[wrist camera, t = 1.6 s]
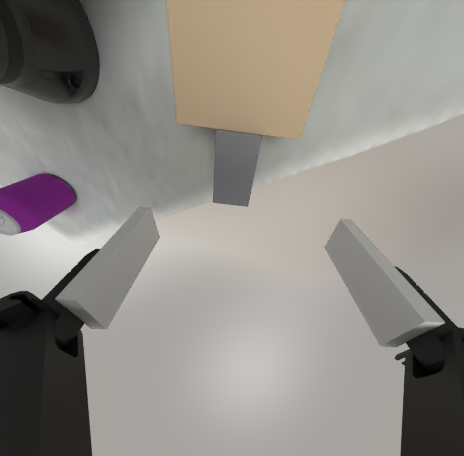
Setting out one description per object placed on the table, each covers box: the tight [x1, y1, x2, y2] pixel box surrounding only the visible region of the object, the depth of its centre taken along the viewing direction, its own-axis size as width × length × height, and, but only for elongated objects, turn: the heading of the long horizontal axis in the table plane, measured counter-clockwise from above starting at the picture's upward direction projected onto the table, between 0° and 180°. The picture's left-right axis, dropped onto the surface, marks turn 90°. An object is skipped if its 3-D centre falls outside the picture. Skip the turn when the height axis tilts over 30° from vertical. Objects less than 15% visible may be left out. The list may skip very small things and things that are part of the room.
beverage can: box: [0, 174, 75, 235], centre depth 32 cm, size 8×8×12 cm
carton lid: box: [166, 0, 345, 206], centre depth 18 cm, size 14×21×2 cm, turn 174°
